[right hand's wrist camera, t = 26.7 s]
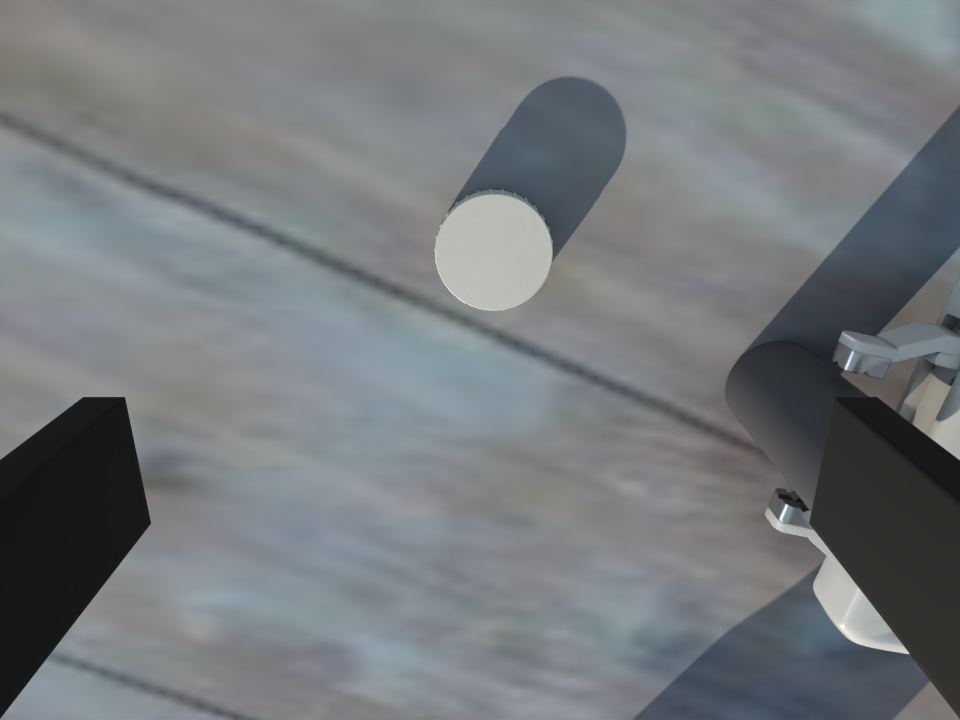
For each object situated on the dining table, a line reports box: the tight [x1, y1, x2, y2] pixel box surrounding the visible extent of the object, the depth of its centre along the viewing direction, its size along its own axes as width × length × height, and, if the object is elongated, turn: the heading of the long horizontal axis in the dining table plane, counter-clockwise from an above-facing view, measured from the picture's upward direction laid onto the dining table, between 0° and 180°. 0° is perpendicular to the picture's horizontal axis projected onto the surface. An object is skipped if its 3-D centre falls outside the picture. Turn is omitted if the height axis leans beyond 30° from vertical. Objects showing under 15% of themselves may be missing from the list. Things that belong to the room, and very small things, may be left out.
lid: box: [434, 188, 554, 310], centre depth 35 cm, size 6×6×2 cm
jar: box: [726, 342, 868, 511], centre depth 30 cm, size 5×5×17 cm
